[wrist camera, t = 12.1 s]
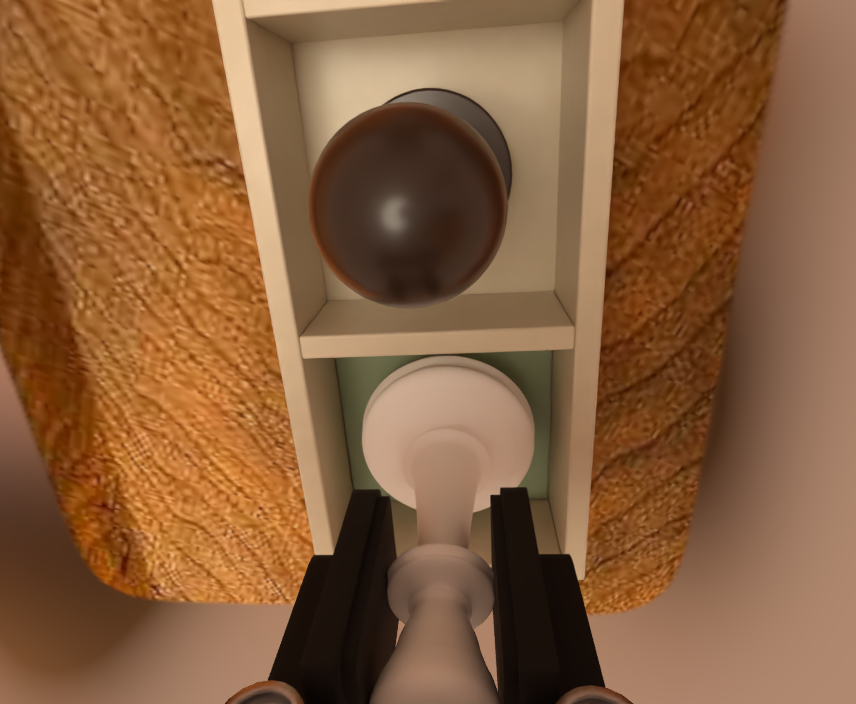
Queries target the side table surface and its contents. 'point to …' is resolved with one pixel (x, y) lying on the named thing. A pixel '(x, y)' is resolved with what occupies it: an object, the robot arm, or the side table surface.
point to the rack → (507, 274)
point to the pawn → (412, 198)
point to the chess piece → (443, 516)
